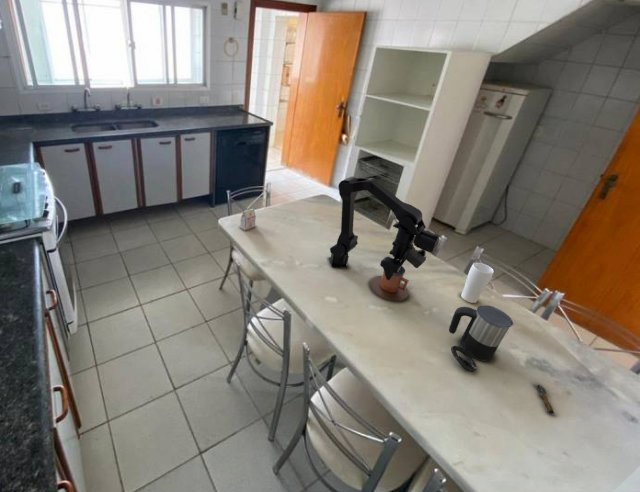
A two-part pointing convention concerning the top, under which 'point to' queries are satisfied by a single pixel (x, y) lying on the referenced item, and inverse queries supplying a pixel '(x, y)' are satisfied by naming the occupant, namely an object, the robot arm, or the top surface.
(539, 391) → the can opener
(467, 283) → the drinking glass
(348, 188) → the robot arm
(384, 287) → the orange mug
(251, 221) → the milk carton
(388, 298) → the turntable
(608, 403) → the top surface
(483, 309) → the milk frother
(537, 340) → the top surface
